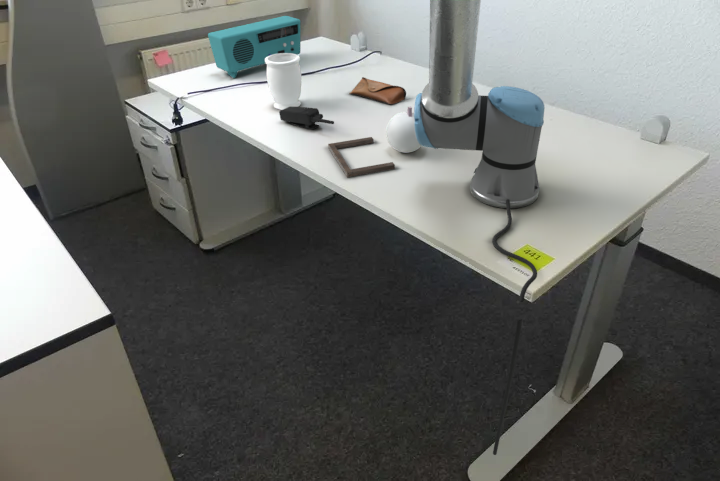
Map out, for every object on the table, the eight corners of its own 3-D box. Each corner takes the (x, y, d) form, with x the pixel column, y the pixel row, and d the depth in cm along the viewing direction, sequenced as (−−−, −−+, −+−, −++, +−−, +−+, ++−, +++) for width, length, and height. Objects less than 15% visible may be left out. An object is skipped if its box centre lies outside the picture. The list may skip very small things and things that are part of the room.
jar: (280, 114, 166) (275, 65, 158) (264, 104, 173) (258, 57, 165) (310, 106, 171) (306, 58, 163) (293, 97, 178) (288, 50, 170)
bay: (394, 169, 136) (394, 164, 135) (347, 177, 133) (347, 173, 132) (371, 140, 150) (371, 136, 149) (328, 147, 147) (328, 143, 146)
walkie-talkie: (294, 108, 165) (346, 116, 154) (287, 127, 164) (338, 136, 153) (281, 98, 159) (334, 106, 148) (274, 118, 159) (326, 127, 148)
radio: (229, 82, 192) (222, 38, 183) (214, 75, 198) (206, 32, 189) (305, 60, 210) (302, 19, 201) (289, 54, 216) (285, 15, 208)
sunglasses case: (346, 93, 178) (352, 72, 177) (358, 98, 184) (364, 78, 183) (391, 104, 169) (398, 83, 168) (402, 109, 175) (408, 89, 174)
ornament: (432, 152, 143) (435, 109, 136) (400, 162, 139) (401, 118, 132) (410, 138, 150) (412, 96, 143) (379, 147, 146) (379, 104, 139)
